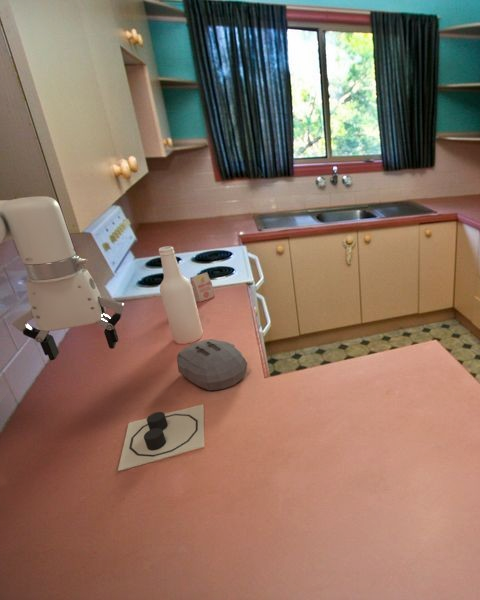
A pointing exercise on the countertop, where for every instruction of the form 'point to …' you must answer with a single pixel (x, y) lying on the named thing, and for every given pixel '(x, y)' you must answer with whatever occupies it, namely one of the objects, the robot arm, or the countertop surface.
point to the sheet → (179, 438)
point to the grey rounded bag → (212, 364)
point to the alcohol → (179, 300)
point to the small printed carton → (202, 287)
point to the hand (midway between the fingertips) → (84, 351)
